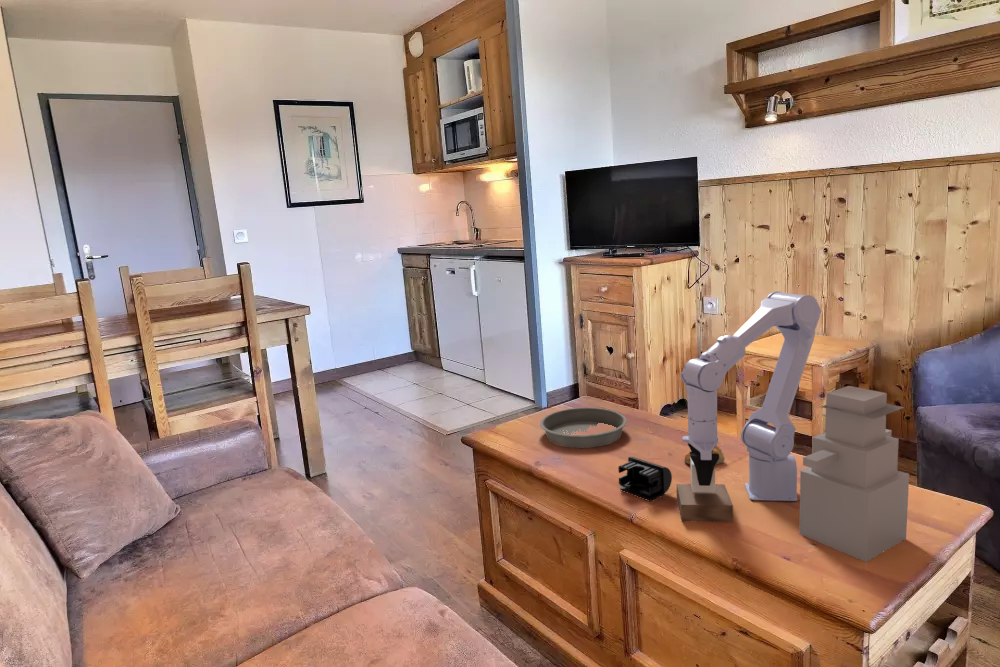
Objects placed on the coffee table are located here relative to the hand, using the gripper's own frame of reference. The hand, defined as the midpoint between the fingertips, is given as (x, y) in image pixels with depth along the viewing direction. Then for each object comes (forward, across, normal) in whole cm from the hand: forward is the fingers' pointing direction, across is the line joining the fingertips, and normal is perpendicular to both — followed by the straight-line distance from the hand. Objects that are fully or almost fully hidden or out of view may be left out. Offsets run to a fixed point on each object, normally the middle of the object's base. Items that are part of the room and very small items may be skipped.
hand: (703, 479), depth 135 cm
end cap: (+7, -9, -12) cm, 17 cm away
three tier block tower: (+7, +9, +26) cm, 28 cm away
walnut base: (+7, 0, 0) cm, 7 cm away
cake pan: (+7, -46, -29) cm, 55 cm away
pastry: (+7, -27, +3) cm, 28 cm away
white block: (+2, 0, 0) cm, 2 cm away
